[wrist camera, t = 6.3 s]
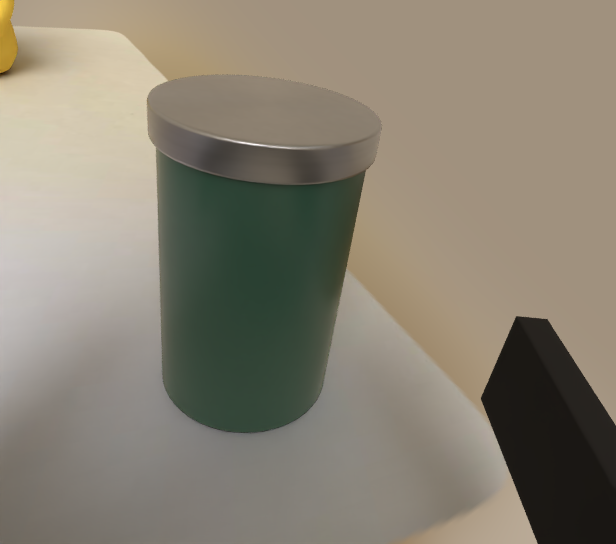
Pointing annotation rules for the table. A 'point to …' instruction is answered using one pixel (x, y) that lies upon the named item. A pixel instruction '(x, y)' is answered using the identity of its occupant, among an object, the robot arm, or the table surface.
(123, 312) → the table surface
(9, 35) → the teapot
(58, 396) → the table surface
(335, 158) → the tin
